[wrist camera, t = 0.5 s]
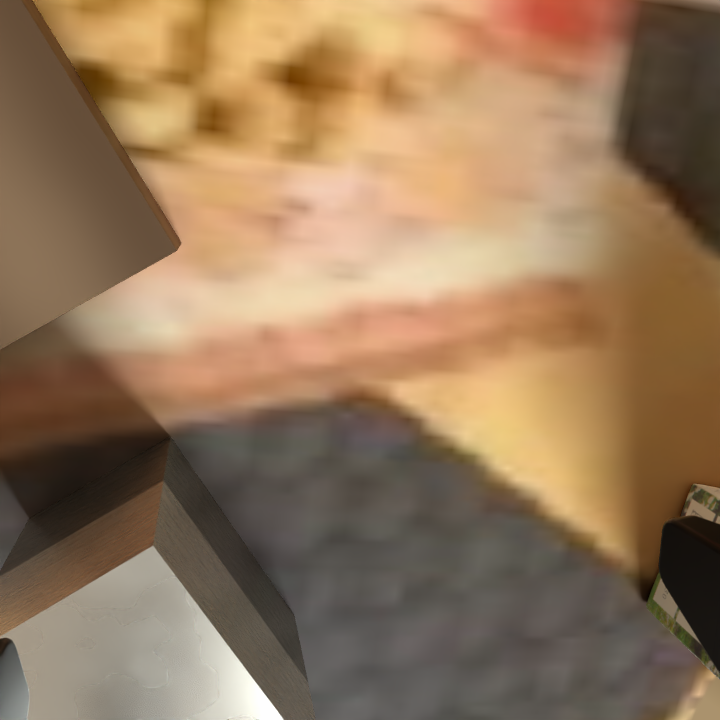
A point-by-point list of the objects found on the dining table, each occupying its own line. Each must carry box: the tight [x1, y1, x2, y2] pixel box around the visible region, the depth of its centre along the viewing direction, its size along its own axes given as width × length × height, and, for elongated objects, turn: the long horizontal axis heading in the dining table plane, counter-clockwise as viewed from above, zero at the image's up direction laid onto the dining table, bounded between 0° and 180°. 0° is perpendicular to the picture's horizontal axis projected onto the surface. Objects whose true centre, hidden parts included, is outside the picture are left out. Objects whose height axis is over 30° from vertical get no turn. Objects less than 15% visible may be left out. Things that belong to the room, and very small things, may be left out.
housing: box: [0, 437, 316, 720], centre depth 19 cm, size 8×5×7 cm, turn 28°
